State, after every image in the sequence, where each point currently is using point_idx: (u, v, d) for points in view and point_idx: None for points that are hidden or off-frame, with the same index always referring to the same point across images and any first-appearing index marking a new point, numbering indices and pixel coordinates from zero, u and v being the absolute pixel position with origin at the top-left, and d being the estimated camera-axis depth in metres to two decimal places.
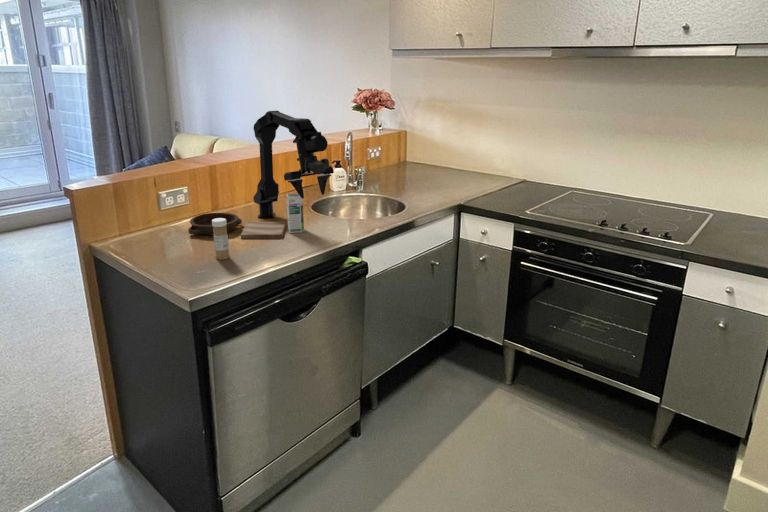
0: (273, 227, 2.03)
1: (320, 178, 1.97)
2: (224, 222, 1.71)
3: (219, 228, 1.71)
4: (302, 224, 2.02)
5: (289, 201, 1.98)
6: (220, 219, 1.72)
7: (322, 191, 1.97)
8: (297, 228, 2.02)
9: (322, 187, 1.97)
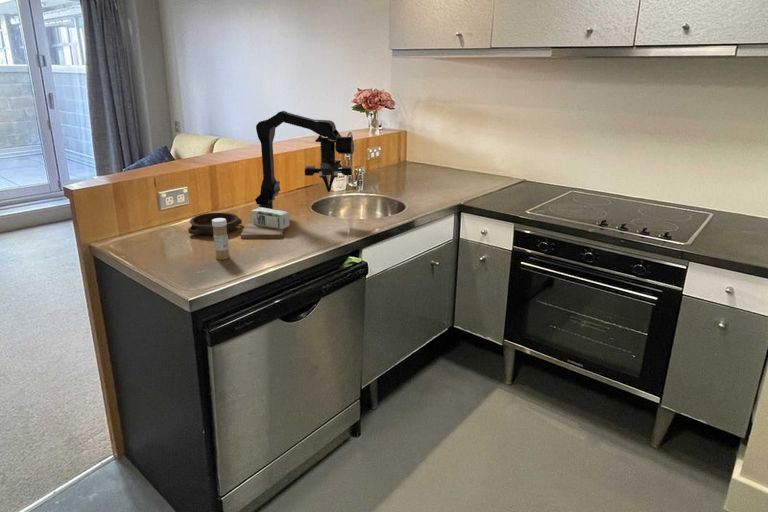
0: None
1: None
2: (224, 222, 1.71)
3: (219, 228, 1.71)
4: (273, 215, 2.01)
5: (255, 222, 2.06)
6: (220, 219, 1.72)
7: None
8: (276, 220, 2.01)
9: (329, 185, 2.13)
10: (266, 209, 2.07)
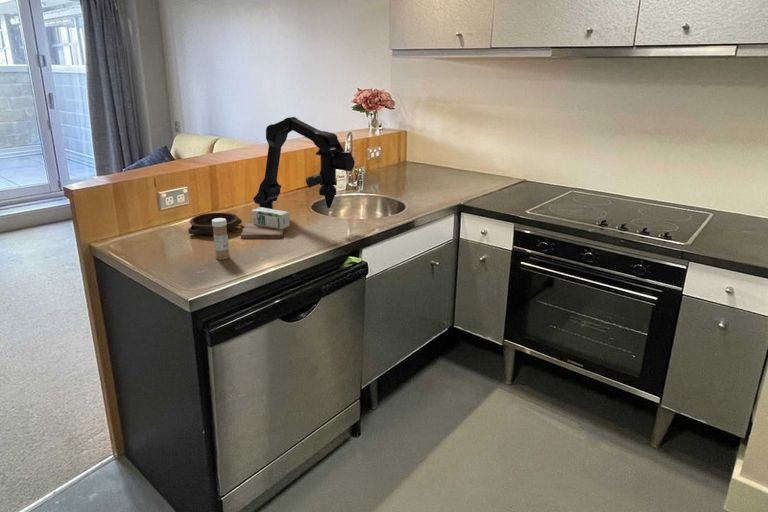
0: None
1: None
2: (224, 222, 1.71)
3: (219, 228, 1.71)
4: (273, 215, 2.01)
5: (255, 222, 2.06)
6: (220, 219, 1.72)
7: None
8: (276, 220, 2.01)
9: None
10: (266, 209, 2.07)
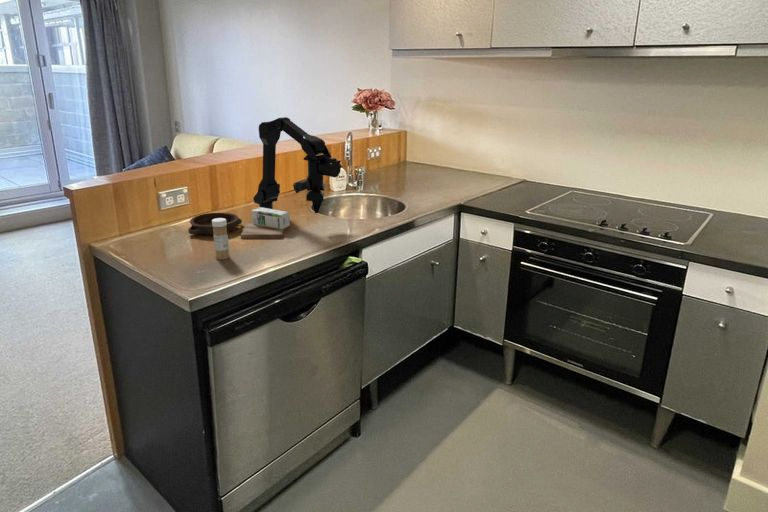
0: None
1: None
2: (224, 222, 1.71)
3: (219, 228, 1.71)
4: (273, 215, 2.01)
5: (255, 222, 2.06)
6: (220, 219, 1.72)
7: None
8: (276, 220, 2.01)
9: None
10: (266, 209, 2.07)
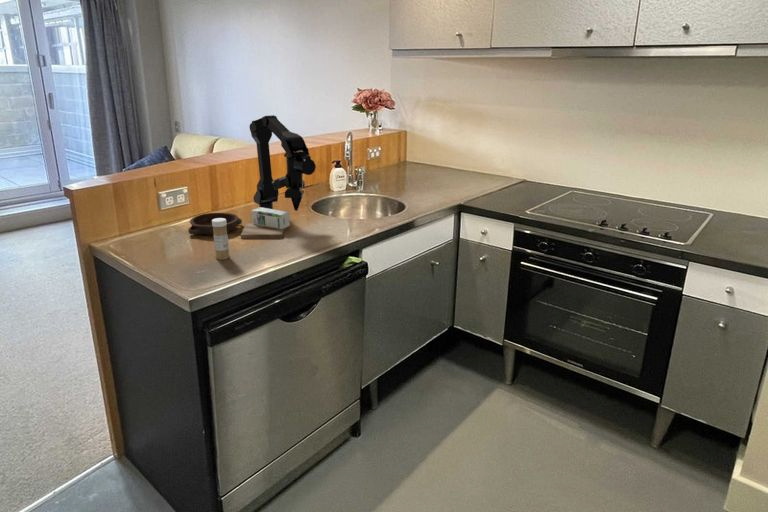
0: None
1: None
2: (224, 222, 1.71)
3: (219, 228, 1.71)
4: (273, 215, 2.01)
5: (255, 222, 2.06)
6: (220, 219, 1.72)
7: None
8: (276, 220, 2.01)
9: None
10: (266, 209, 2.07)
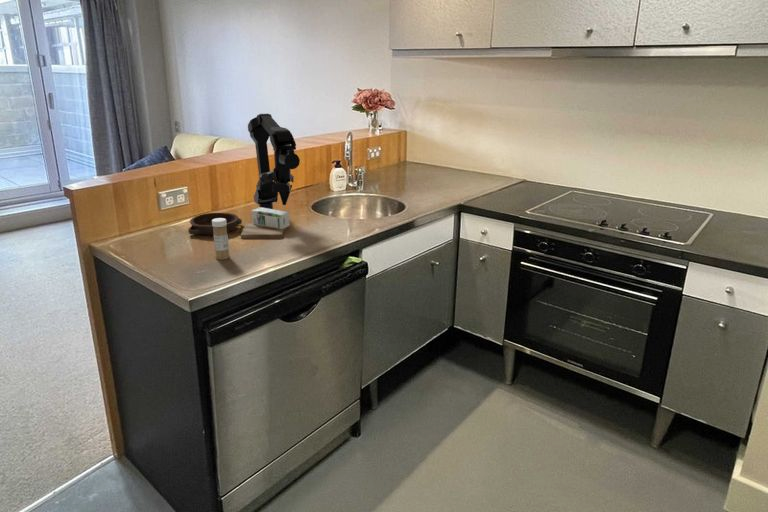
0: None
1: None
2: (224, 222, 1.71)
3: (219, 228, 1.71)
4: (273, 215, 2.01)
5: (255, 222, 2.06)
6: (220, 219, 1.72)
7: None
8: (276, 220, 2.01)
9: None
10: (266, 209, 2.07)
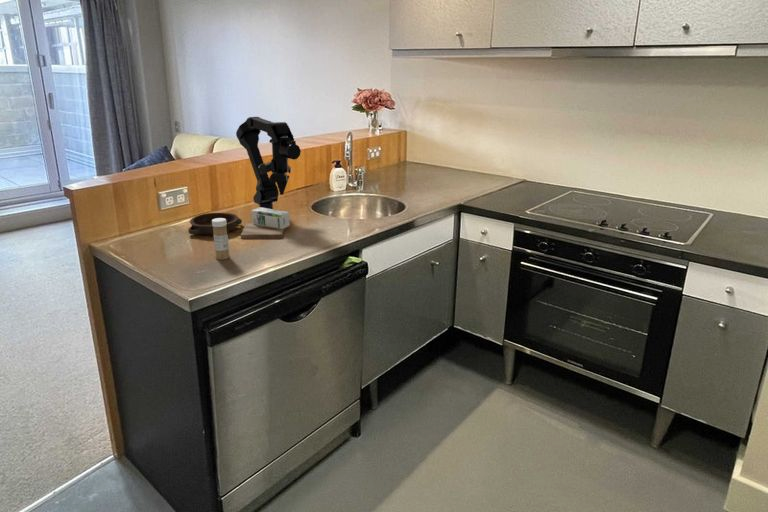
0: None
1: None
2: (224, 222, 1.71)
3: (219, 228, 1.71)
4: (273, 215, 2.01)
5: (255, 222, 2.06)
6: (220, 219, 1.72)
7: None
8: (276, 220, 2.01)
9: None
10: (266, 209, 2.07)
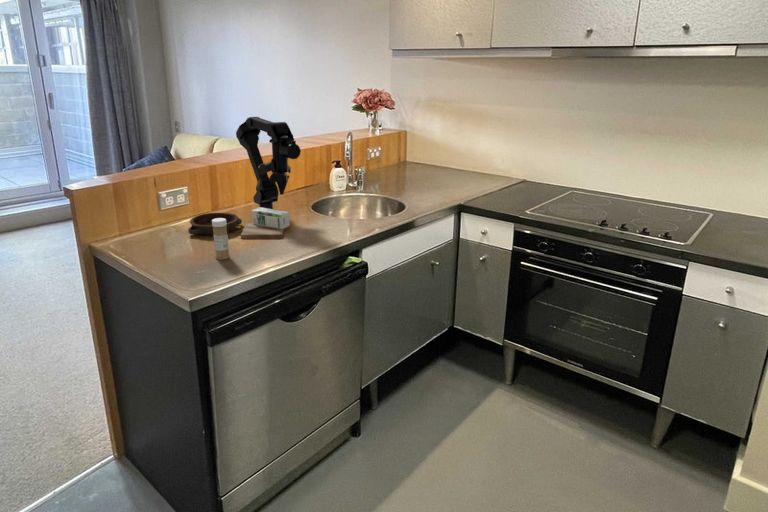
0: None
1: None
2: (224, 222, 1.71)
3: (219, 228, 1.71)
4: (273, 215, 2.01)
5: (255, 222, 2.06)
6: (220, 219, 1.72)
7: None
8: (276, 220, 2.01)
9: None
10: (266, 209, 2.07)
